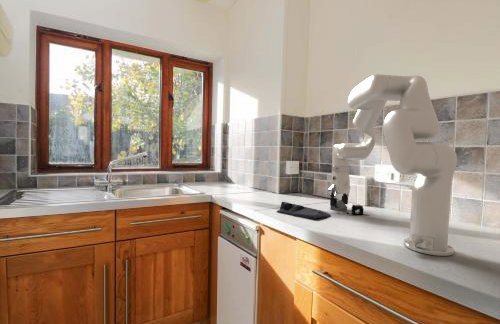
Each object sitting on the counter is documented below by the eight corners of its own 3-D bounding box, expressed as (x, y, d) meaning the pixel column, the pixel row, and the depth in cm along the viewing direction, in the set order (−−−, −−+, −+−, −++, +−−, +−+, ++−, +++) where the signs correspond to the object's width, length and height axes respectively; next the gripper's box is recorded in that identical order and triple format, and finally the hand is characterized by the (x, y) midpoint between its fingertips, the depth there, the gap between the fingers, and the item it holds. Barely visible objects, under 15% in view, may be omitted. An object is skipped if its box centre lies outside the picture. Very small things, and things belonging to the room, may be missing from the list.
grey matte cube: (341, 212, 126) (342, 202, 126) (330, 209, 131) (330, 200, 131) (347, 210, 129) (347, 201, 129) (336, 208, 134) (336, 199, 134)
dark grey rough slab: (313, 222, 108) (314, 211, 107) (273, 212, 124) (273, 202, 124) (333, 217, 118) (334, 206, 118) (294, 208, 134) (294, 198, 134)
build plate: (365, 213, 127) (365, 203, 127) (374, 217, 120) (375, 207, 120) (340, 213, 126) (341, 203, 125) (348, 217, 118) (349, 207, 118)
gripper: (337, 170, 121) (335, 208, 122) (356, 169, 132) (355, 204, 133) (323, 169, 127) (321, 205, 127) (343, 168, 138) (341, 201, 138)
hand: (339, 204), depth 130 cm, fingers open, 9 cm apart
